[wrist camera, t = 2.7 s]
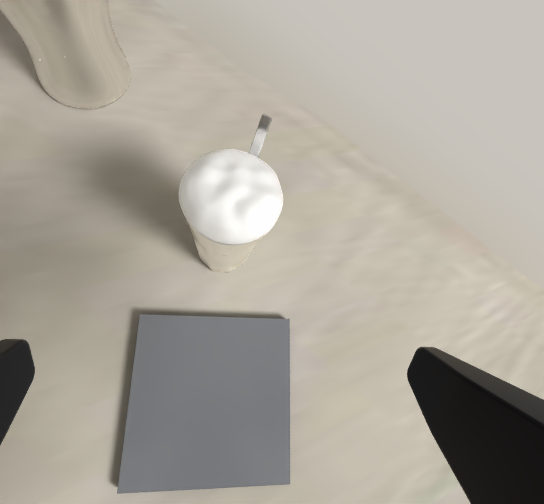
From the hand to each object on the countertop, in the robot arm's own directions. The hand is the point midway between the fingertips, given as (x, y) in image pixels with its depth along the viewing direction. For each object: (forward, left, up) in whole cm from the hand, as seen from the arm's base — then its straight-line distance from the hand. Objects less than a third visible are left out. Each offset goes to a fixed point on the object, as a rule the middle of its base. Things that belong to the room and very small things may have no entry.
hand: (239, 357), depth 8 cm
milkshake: (+6, +3, -14) cm, 15 cm away
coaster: (-2, -1, -13) cm, 14 cm away
